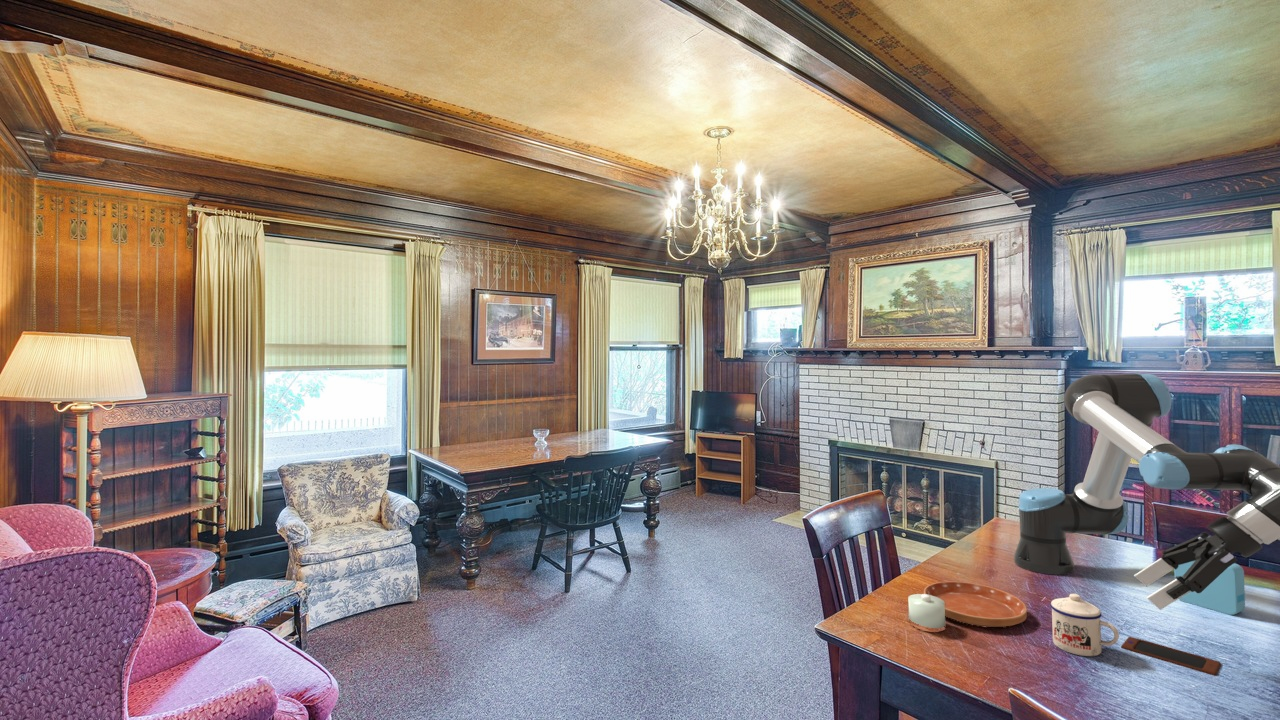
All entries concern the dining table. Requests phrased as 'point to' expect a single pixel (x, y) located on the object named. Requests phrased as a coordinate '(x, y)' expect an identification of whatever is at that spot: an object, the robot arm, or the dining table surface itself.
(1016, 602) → the saucer
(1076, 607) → the teacup with lid
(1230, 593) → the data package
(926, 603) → the sugar bowl
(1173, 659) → the smartphone
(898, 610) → the dining table surface
